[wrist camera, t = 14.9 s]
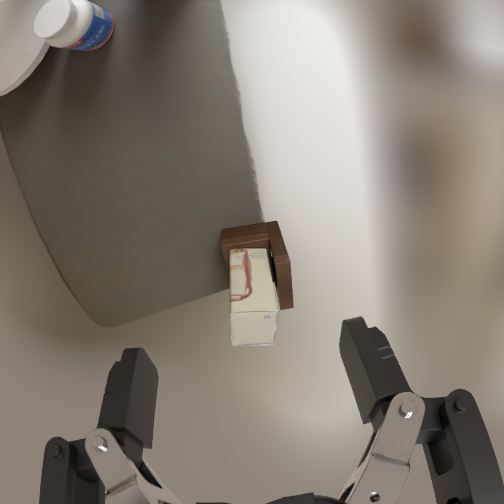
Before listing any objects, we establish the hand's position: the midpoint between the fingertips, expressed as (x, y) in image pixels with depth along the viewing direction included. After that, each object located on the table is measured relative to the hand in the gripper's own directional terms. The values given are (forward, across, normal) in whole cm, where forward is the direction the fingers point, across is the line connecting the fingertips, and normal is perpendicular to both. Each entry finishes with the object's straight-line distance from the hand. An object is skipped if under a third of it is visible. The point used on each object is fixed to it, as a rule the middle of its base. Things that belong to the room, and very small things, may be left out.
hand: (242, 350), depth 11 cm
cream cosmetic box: (+21, 0, +12) cm, 24 cm away
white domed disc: (+19, +22, -24) cm, 38 cm away
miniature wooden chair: (+25, -1, +12) cm, 27 cm away
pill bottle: (+26, +12, -20) cm, 35 cm away
